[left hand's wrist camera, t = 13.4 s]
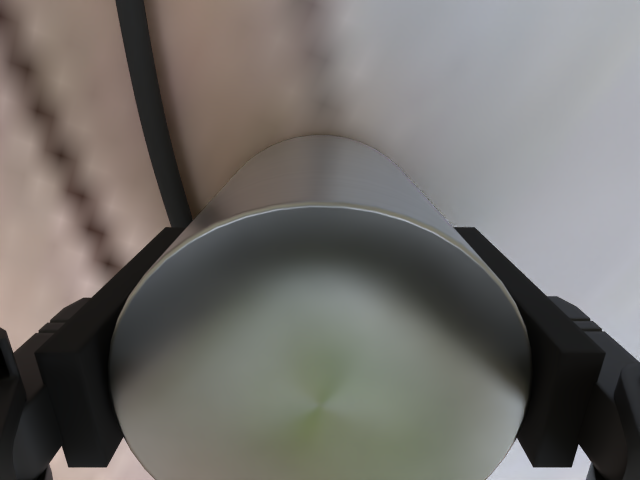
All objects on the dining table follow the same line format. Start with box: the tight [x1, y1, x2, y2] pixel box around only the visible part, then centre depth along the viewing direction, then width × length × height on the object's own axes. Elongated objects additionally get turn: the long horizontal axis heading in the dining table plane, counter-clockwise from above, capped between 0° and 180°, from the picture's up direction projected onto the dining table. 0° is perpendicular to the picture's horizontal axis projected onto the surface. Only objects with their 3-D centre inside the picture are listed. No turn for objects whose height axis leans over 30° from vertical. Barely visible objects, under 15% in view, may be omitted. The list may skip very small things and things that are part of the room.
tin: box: [108, 135, 533, 480], centre depth 12 cm, size 8×8×8 cm
